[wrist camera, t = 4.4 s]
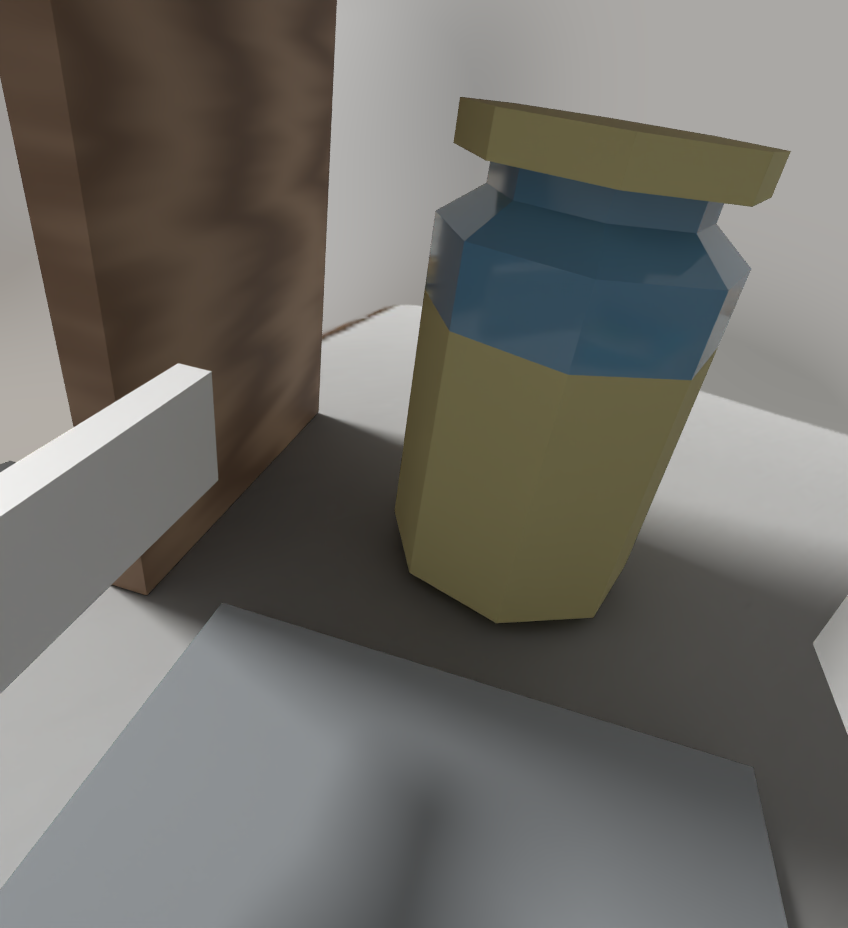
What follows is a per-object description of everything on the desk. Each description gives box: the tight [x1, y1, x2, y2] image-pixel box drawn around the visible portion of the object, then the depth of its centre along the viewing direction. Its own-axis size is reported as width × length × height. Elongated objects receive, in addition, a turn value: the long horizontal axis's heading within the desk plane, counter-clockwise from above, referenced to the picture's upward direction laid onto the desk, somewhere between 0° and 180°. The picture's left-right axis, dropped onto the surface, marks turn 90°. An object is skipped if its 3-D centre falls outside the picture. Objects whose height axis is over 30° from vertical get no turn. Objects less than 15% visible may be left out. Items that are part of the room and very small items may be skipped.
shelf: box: [0, 0, 337, 595], centre depth 19 cm, size 14×18×22 cm
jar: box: [395, 97, 790, 623], centre depth 20 cm, size 9×9×15 cm
